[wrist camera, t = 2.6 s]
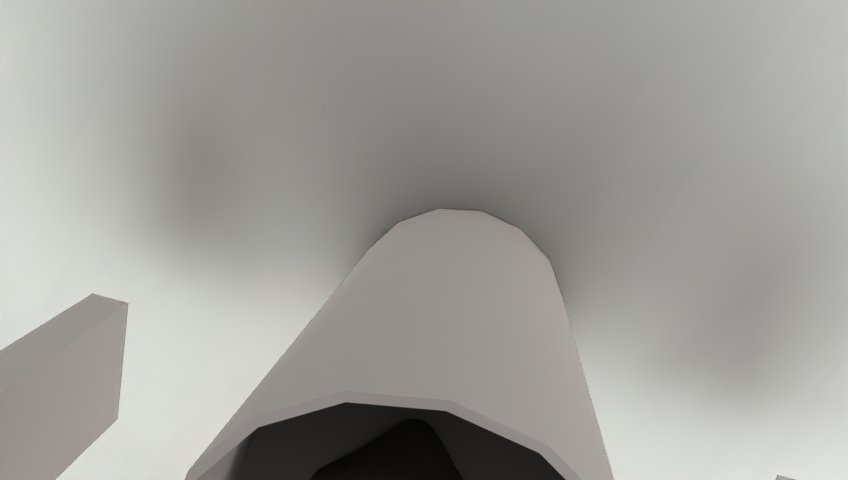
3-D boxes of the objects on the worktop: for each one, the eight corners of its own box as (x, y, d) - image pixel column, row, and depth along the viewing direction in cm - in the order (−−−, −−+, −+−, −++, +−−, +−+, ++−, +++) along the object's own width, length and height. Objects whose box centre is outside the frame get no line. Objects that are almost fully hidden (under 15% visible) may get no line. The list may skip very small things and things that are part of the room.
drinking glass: (290, 267, 19) (66, 514, 10) (499, 143, 17) (477, 297, 8) (418, 451, 20) (333, 828, 11) (625, 353, 18) (738, 704, 9)
